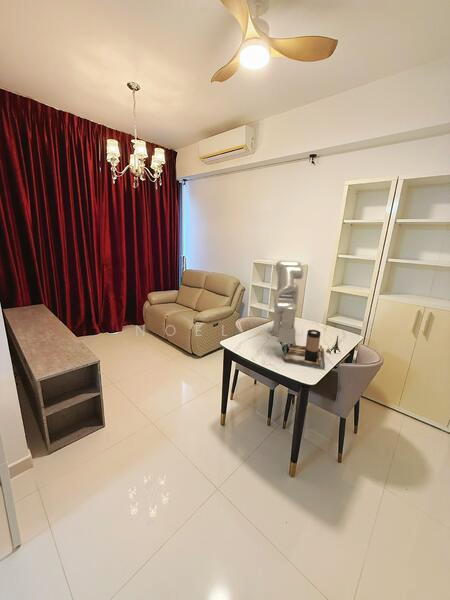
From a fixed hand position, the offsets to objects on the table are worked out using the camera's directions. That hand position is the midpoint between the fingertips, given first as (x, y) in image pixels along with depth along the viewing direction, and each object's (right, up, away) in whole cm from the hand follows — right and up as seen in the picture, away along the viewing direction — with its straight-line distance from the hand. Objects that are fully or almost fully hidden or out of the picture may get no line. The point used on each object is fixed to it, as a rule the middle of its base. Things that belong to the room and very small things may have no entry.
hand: (285, 351), depth 158 cm
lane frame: (+12, -4, +2) cm, 13 cm away
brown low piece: (+10, -5, -3) cm, 11 cm away
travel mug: (+15, -5, -4) cm, 16 cm away
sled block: (+15, -2, +9) cm, 17 cm away
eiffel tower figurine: (+37, -3, +12) cm, 39 cm away
